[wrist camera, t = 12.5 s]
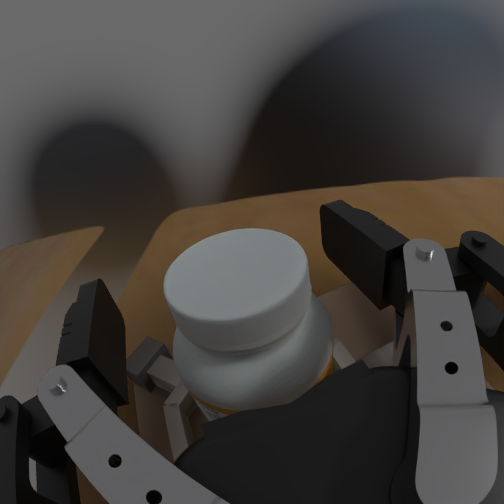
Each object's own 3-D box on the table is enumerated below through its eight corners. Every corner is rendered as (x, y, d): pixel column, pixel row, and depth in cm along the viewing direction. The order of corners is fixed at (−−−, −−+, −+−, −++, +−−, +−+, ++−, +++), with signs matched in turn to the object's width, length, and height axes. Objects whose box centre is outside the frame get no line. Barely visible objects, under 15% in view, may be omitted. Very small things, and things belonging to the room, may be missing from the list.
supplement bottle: (256, 489, 10) (170, 387, 5) (205, 408, 15) (122, 264, 9) (352, 425, 12) (377, 266, 7) (289, 360, 16) (262, 202, 11)
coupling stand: (375, 282, 22) (377, 251, 20) (503, 416, 10) (526, 391, 9) (138, 370, 19) (119, 344, 17) (180, 576, 7) (153, 578, 6)
